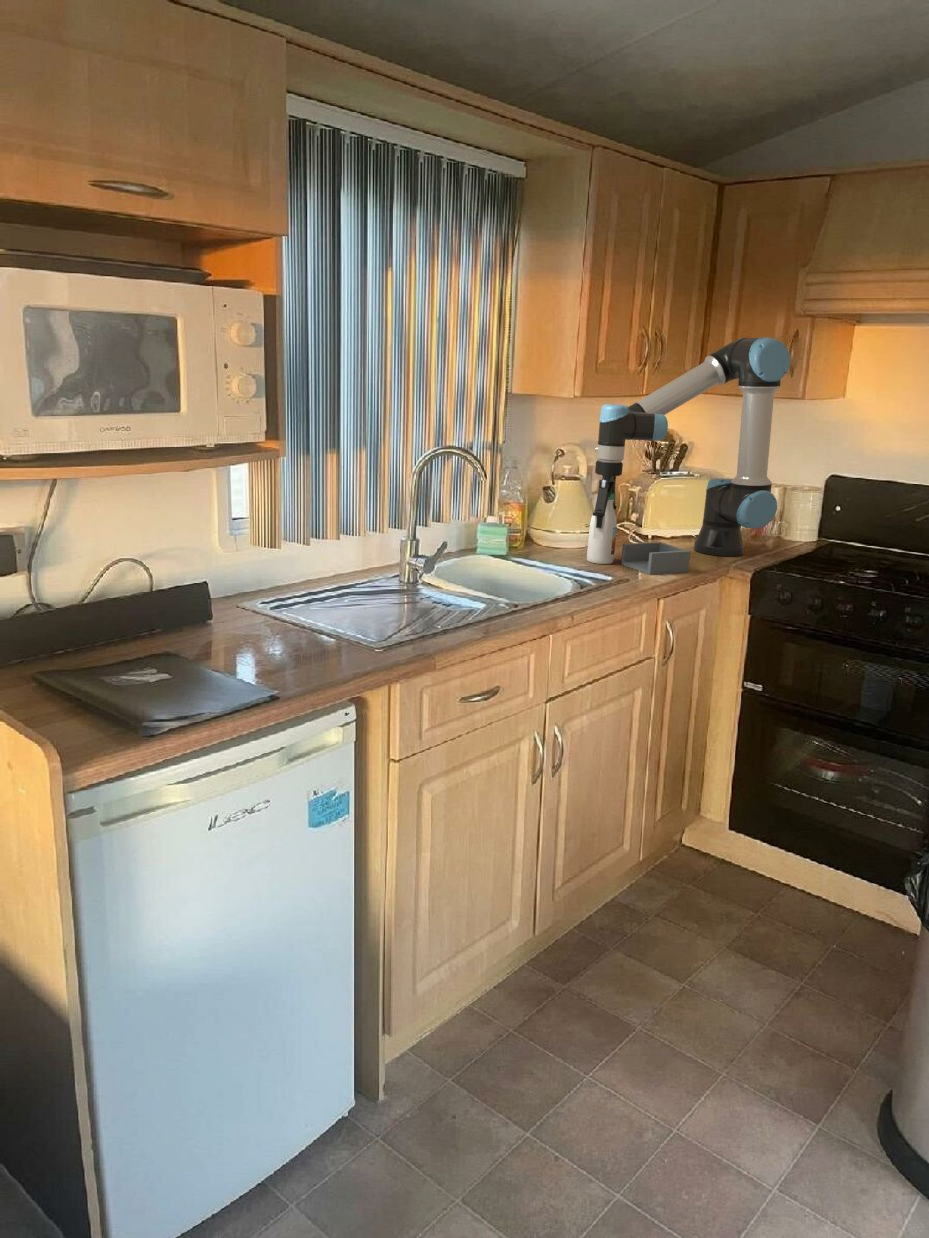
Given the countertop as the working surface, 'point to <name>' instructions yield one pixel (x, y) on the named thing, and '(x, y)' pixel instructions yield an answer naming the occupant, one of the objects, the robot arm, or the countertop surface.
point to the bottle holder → (655, 558)
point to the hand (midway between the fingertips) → (602, 535)
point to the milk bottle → (603, 548)
